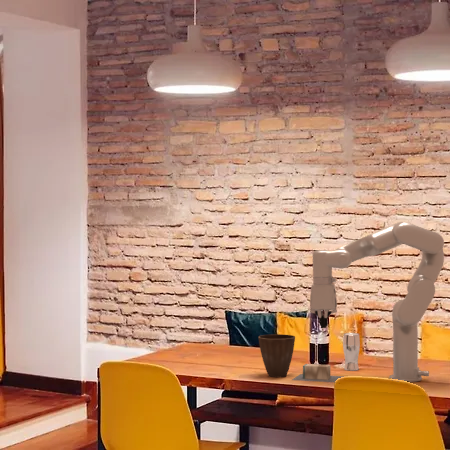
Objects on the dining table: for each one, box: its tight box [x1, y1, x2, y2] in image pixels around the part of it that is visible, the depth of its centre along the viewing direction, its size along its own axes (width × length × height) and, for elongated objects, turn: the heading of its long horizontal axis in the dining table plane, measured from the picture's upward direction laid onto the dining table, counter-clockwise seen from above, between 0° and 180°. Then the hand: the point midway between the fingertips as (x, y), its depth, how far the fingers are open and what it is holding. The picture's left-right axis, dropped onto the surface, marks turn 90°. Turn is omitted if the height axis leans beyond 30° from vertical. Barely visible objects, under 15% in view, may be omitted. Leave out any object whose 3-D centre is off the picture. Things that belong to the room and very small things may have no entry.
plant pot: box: [258, 333, 296, 378], centre depth 400 cm, size 15×15×16 cm
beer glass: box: [342, 332, 361, 372], centre depth 413 cm, size 7×7×15 cm
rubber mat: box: [291, 373, 344, 383], centre depth 390 cm, size 22×14×1 cm, turn 71°
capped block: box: [302, 363, 332, 380], centre depth 391 cm, size 5×5×10 cm
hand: (323, 327), depth 389 cm, fingers closed
